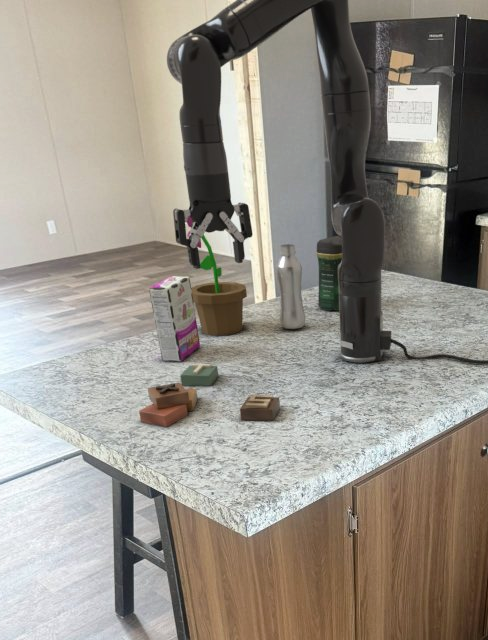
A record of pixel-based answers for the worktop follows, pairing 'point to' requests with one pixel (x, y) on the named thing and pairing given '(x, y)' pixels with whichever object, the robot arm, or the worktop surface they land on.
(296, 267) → the silver metal bottle
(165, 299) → the candy bar box
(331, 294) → the coffee jar
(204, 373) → the letter T
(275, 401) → the letter S
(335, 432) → the worktop surface
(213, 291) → the flowerpot
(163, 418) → the letter pile
